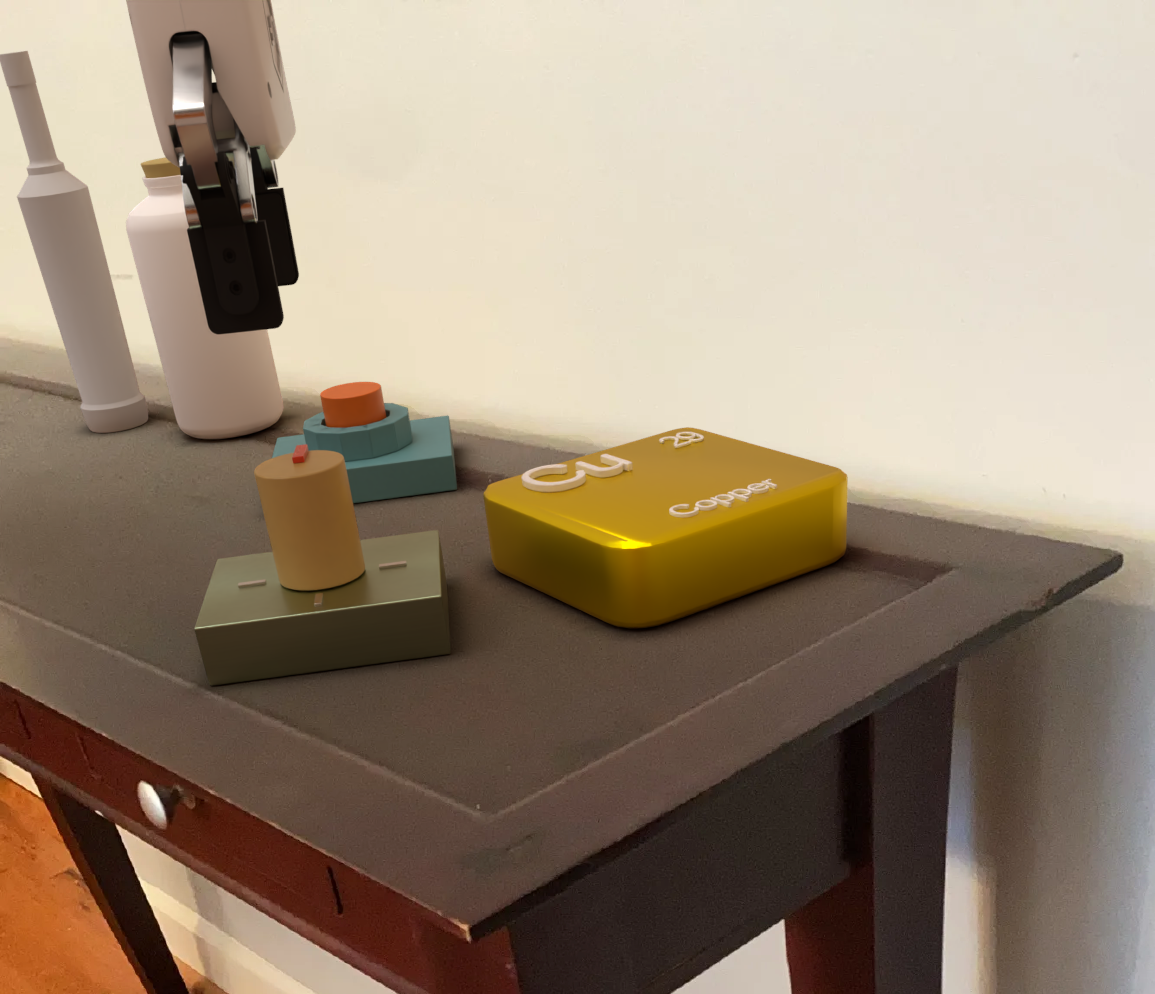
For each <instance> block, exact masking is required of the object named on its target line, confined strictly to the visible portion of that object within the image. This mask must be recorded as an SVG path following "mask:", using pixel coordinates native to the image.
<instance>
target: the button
mask: <svg viewBox="0 0 1155 994" xmlns="http://www.w3.org/2000/svg"><path fill="white" fill-rule="evenodd" d="M319 397H320V402H321V408H322V412H324V417H325V423H326V426H327V427H332V428H347V427H355V426H362V425H367V424H371V423H374V422H378V421H381V420H383V419H385V418H387V417H386V412H385V406H384V403H385V400H384V396H383V389H382V385H381V384H380V383H378V382H376V381H375V382H374V381H354V382H347V383H341V384H337V385H334V386H330V387H327V388H326V389H324V390H322V391H320V393H319Z"/></svg>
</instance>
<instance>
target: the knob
mask: <svg viewBox="0 0 1155 994" xmlns="http://www.w3.org/2000/svg"><path fill="white" fill-rule="evenodd" d="M253 473H254V474H253V475H254V477H255V478H254V479H255V483H256V487H257V491H258V495H259V496H258V497H259V500H260V505H261V508H262V513H263V517H264V522H265V526H266V531H267V534H268V535H267V536H268V538H269V543H270V547H271V552H273V556H274V560H275V565H276V569H277V573H278V577H279V581H280V583H281V585H283V586H284V587H286V588H289V589H293V590H320V589H327V588H332V587H336V586H339V585H342V584H345V583H348V582H350V581H352V580H354V579H356V578H358V577H359V576H360V575H362V574H363V572H364V570H365V563H364V557H363V552H362V547H361V542H360V540H361V536H360V532H359V526H358V520H357V516H356V512H355V506H354V503H353V501H352V496H351V490H350V485H349V480H348V475H347V470H346V465H345V460H344V457H343V455H342V454H340V453H338V452H334V451H327V450H311V451H308V445H307V444H305V445H297V446H296V448H295V451H294V453H289V454H285V455H281V456H278V457H275V458H272V457H271V458H269V459H267V460H264V461H263V462H261V463H259V464H258V465H257V466H256V467H255V468H254V471H253Z"/></svg>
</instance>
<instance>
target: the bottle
mask: <svg viewBox="0 0 1155 994" xmlns="http://www.w3.org/2000/svg"><path fill="white" fill-rule="evenodd" d="M0 67H1V70H2V73H3V74H2V75H3V77H4V81H5V84H6V87H8V91H9V94H10V98H11V102H12V106H13V108H14V112H15V115H16V119H17V122H18V126H19V129H20V133H21V136H22V140H23V143H24V147H25V150H26V154H27V157H28V160H29V162H28V163H29V164H28V165H27V167H26V171H27V177H26V179H25V180H24V183H23V184H22V186H21V188H20V190H19V192H18V194H17V196H16V198H17V202H18V205H19V208H20V211H21V214H22V217H23V220H24V223H25V226H26V227H25V228H26V230H27V233H28V237H29V239H30V243H31V246H32V249H33V252H34V255H35V259H36V261H37V263H38V267H39V271H40V273H41V277H42V280H43V283H44V286H45V290H46V293H47V296H48V299H49V302H50V305H51V308H52V311H53V315H54V318H55V321H56V324H57V327H58V330H59V333H60V336H61V340H62V342H63V347H64V349H65V353H66V355H67V358H68V362H69V364H70V368H71V371H72V374H73V377H74V381H75V384H76V386H77V390H78V393H79V396H80V399H81V404H80V407H79V408H80V412H81V415H82V418H83V420H84V423H85V425H86V426H87V428H88V429H89V430H90V432H92V433H98V434H101V433H114V432H121V431H127V430H130V429H134V428H137V427H139V426H142V425H144V424H146V423H147V422H148V420H149V407H148V403H147V400H146V395H145V394H144V393H143V392H141V390H140V386H139V382H138V378H137V374H136V370H135V366H134V363H133V358H132V355H131V351H130V347H129V343H128V339H127V335H126V330H125V327H124V323H123V320H122V316H121V315H122V314H121V311H120V307H119V305H118V300H117V295H116V292H115V288H114V284H113V281H112V275H111V272H110V267H109V265H108V261H107V260H108V259H107V256H106V254H105V253H106V252H105V249H104V245H103V241H102V237H101V232H100V229H99V224H98V220H97V217H96V213H95V209H94V205H93V201H92V197H91V194H90V190H89V185H87V184H86V183H84V182H83V181H82V180H81V179H79V178H78V177H76V176H75V175H73V174H72V173H71V172H69V171H68V170H67V169H66V166H65V163H64V162H63V161H61V160H60V159H59V157H57V153H56V149H55V146H54V142H53V139H52V135H51V131H50V128H49V124H48V121H47V118H46V115H45V110H44V107H43V103H42V100H41V96H40V93H39V90H38V86H37V79H36V76H35V75H36V74H35V72H34V68H33V65H32V62H31V58H30V54H29V51H28V50H22V51H21V50H20V51H13V52H6V53H0Z"/></svg>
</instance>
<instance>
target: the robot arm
mask: <svg viewBox="0 0 1155 994" xmlns="http://www.w3.org/2000/svg"><path fill="white" fill-rule="evenodd" d="M125 1H126V5H127V6H126V7H127V11H128V16H129V20H130V26H131V30H132V35H133V38H134V42H135V47H136V48H135V49H136V52H137V57H138V62H139V66H140V70H141V74H142V78H143V83H144V87H145V90H146V95H147V99H148V103H149V106H150V111H151V115H152V118H153V122H154V127H155V130H156V132H157V137H158V140H159V144H160V147H161V150H162V153H163V155H164V158H165V157H166V158H167V159H168V160H169V161H170V162H171V163H173V164H174V165H175V166H177V167H179V168H180V174H181V182H182V191H183V200H184V208H185V214H186V218H187V222H188V225H189V228H188V229H187V233H188V238H189V242H190V247H191V251H192V256H193V260H194V265H195V269H196V274H197V278H198V283H199V287H200V292H201V296H202V301H203V305H204V310H205V314H206V319H207V323H208V327H209V329H210V330H211V331H212V332H213V333H215V334H229V333H238V332H247V331H257V330H266V329H267V330H275V329H278V328H280V327H281V326H282V325H283V322H284V319H285V317H284V316H285V315H284V310H283V305H282V300H281V293H280V289H279V287H286V286H293V285H295V284H297V282H298V280H299V277H300V273H299V267H298V261H297V256H296V250H295V244H294V238H293V234H292V229H291V222H290V217H289V212H288V206H287V201H286V195H285V189H284V187H280V184H279V176H278V174H279V173H278V168H277V164H276V160H279V159H280V158H281V157H282V155H283V154H284V153H285V151H286V150H287V148H288V147H289V145H290V144H291V142H292V141H293V139H294V138H295V135H296V132H297V130H296V129H297V127H296V120H295V116H294V112H293V108H292V102H291V96H290V92H289V87H288V81H287V78H286V73H285V68H284V63H283V57H282V52H281V46H280V42H279V37H278V36H279V35H278V32H277V26H276V19H275V15H274V9H273V4H272V0H125ZM213 75H214V78H215V81H213Z"/></svg>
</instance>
